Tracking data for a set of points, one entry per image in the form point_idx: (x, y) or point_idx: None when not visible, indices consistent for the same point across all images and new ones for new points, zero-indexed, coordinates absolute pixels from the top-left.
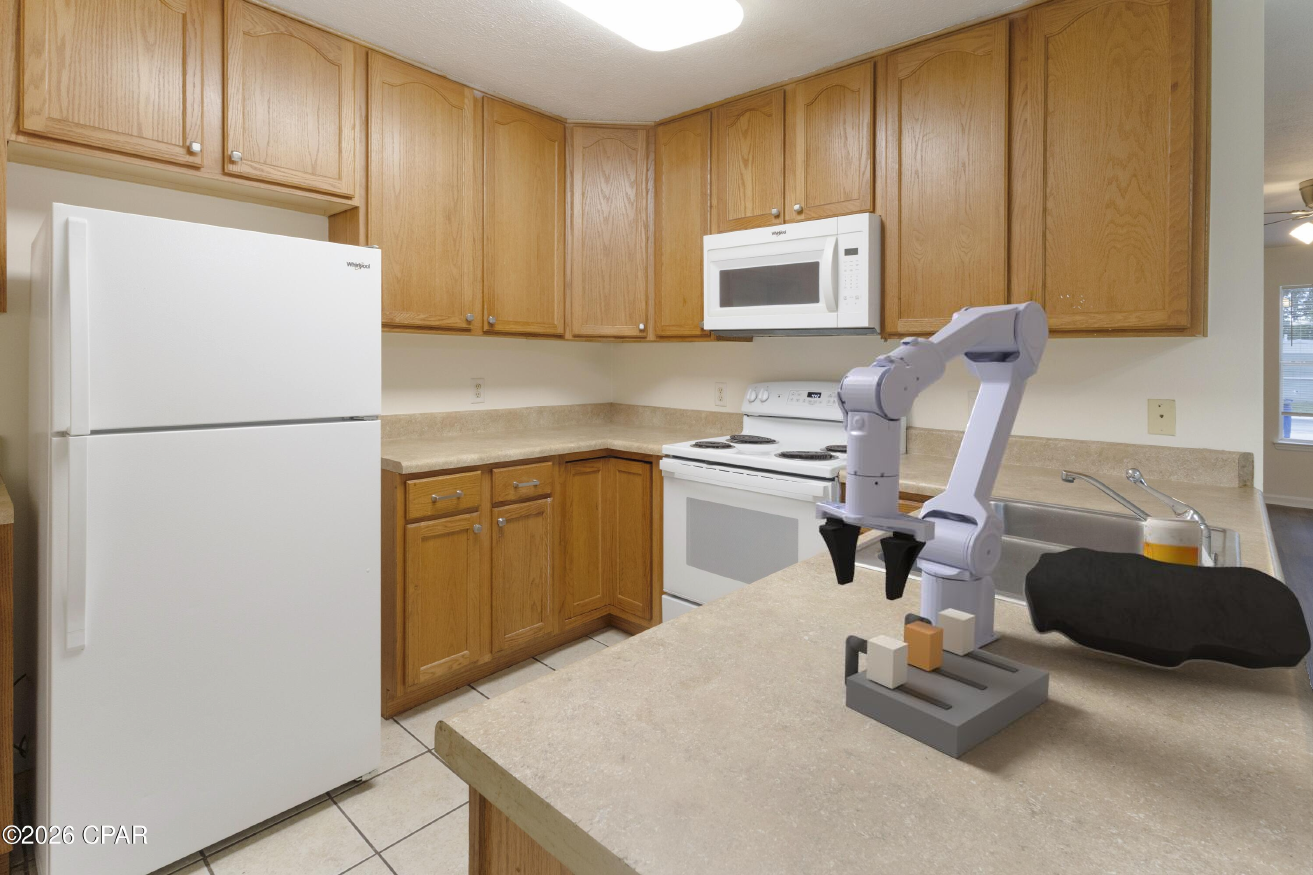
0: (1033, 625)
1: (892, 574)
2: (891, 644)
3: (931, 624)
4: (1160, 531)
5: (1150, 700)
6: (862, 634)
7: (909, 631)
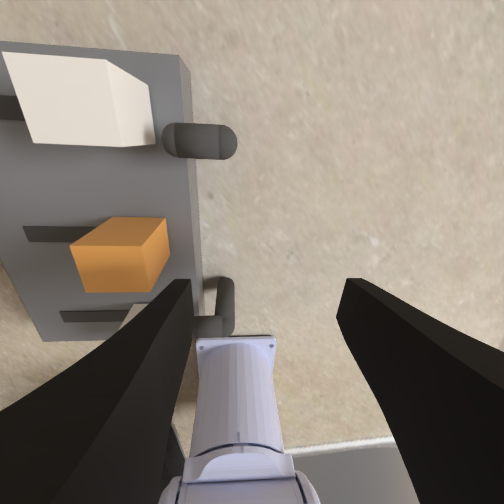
0: (172, 426)
1: (119, 332)
2: (46, 95)
3: None
4: None
5: (27, 378)
6: (317, 305)
7: (132, 242)
